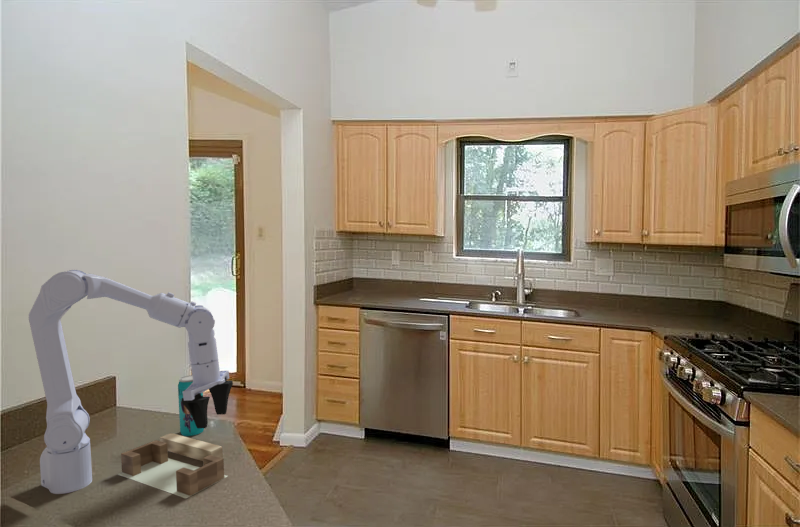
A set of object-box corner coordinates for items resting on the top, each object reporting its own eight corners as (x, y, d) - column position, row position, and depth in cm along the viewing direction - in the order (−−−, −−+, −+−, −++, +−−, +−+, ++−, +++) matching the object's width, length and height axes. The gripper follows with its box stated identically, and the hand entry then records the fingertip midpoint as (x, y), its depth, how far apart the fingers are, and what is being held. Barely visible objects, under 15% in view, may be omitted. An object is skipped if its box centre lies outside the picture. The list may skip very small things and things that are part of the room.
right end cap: (176, 491, 96) (175, 470, 96) (211, 474, 103) (210, 455, 103) (190, 495, 94) (189, 475, 94) (224, 478, 101) (223, 458, 101)
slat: (160, 454, 117) (159, 437, 117) (171, 449, 120) (170, 432, 120) (211, 469, 108) (211, 451, 108) (223, 464, 111) (222, 446, 111)
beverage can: (178, 441, 124) (175, 381, 123) (182, 433, 129) (179, 376, 129) (203, 438, 125) (200, 379, 125) (205, 430, 131) (203, 373, 130)
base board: (117, 478, 104) (117, 474, 104) (161, 460, 113) (160, 455, 113) (186, 503, 93) (185, 498, 93) (228, 480, 102) (228, 475, 102)
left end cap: (121, 472, 105) (120, 453, 105) (156, 457, 112) (155, 440, 112) (133, 476, 103) (132, 457, 103) (168, 460, 110) (167, 443, 110)
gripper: (201, 370, 102) (209, 434, 103) (237, 351, 116) (244, 408, 117) (170, 371, 104) (179, 434, 105) (210, 352, 118) (218, 408, 119)
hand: (212, 420), depth 111 cm, fingers open, 7 cm apart
